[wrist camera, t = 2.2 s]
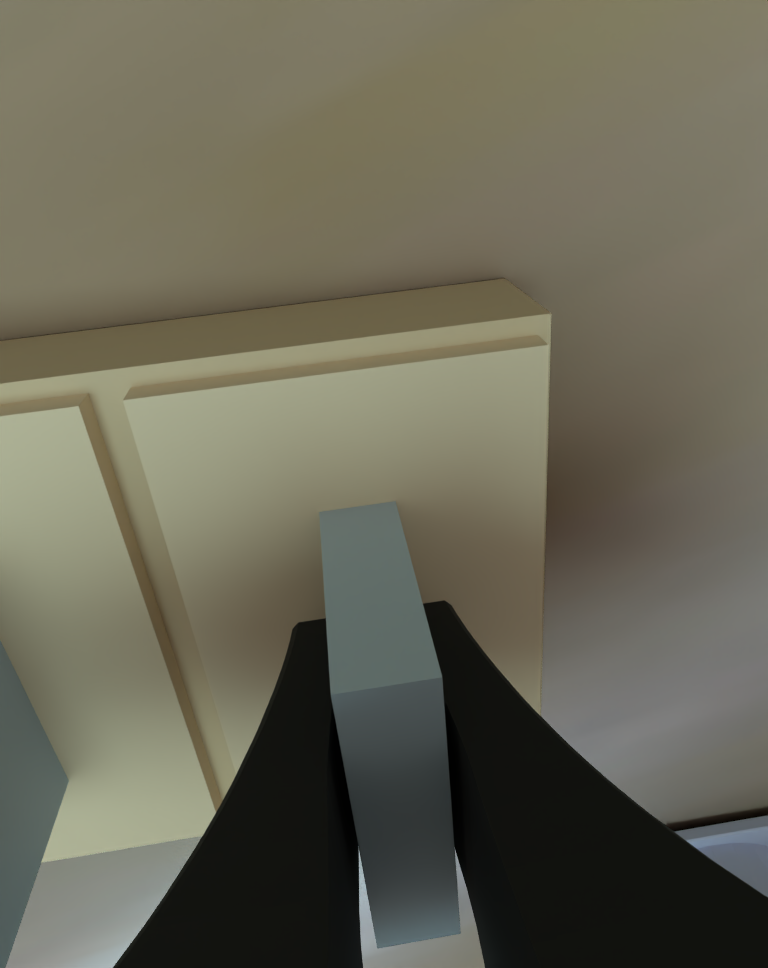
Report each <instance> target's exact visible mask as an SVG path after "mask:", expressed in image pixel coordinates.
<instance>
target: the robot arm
mask: <svg viewBox="0 0 768 968" xmlns="http://www.w3.org/2000/svg"><path fill="white" fill-rule="evenodd" d="M423 606H424V610H425V614H426V618H427V622H428V625H429V629H430V633H431V637H432V640H433V644H434V648H435V652H436V655H437V659H438V663H439V667H440V670H441V674H442V680H443V694H444V708H445V722H446V736H447V750H448V764H449V778H450V792H451V806H452V820H453V834H454V847H455V850H456V853H457V857H458V860H459V863H460V867H461V870H462V874H463V877H464V880H465V884H466V887H467V890H468V894H469V898H470V902H471V906H472V910H473V914H474V917H475V921H476V926H477V930H478V935H479V940H480V945H481V949H482V954H483V959H484V964H485V968H768V815H766V816H760V817H755V818H749V819H743V820H737V821H732V822H726V823H720V824H715V825H709V826H703V827H697V828H692V829H686V830H680V831H672V830H671V829H670V828H668V827H667V826H666V825H664V824H663V823H662V822H660V821H659V820H657V819H656V818H655V817H653V816H652V815H651V814H649V813H648V812H647V811H645V810H644V809H643V808H642V807H640V806H639V805H638V804H637V803H635V802H634V801H633V800H632V799H631V798H629V797H628V796H627V795H626V794H625V793H623V792H622V791H621V790H620V789H619V788H617V787H616V786H615V785H614V784H612V783H611V782H610V781H609V780H608V779H607V778H605V777H604V776H603V775H602V774H601V773H600V772H599V771H598V770H596V769H595V768H594V767H593V766H592V765H591V764H590V763H588V762H587V761H586V760H585V759H584V758H583V757H582V756H581V755H580V754H579V753H578V752H576V751H575V750H574V749H573V748H572V747H571V746H570V745H569V744H568V743H567V742H566V741H565V740H564V739H563V738H562V737H561V736H560V735H559V734H558V733H557V732H556V731H555V730H554V729H553V728H552V727H551V726H550V725H549V724H548V723H547V722H546V721H545V720H544V719H543V718H542V717H541V716H540V715H539V714H538V713H537V712H536V711H535V710H534V709H533V708H532V707H531V706H530V704H529V703H528V702H527V701H526V700H525V699H524V698H523V697H522V696H521V695H520V694H519V692H518V691H517V690H516V689H515V688H514V687H513V686H512V684H511V683H510V682H509V681H508V680H507V679H506V677H505V676H504V675H503V674H502V673H501V672H500V671H499V669H498V668H497V667H496V666H495V665H494V663H493V662H492V661H491V660H490V658H489V657H488V656H487V655H486V653H485V652H484V651H483V650H482V648H481V647H480V646H479V644H478V643H477V642H476V640H475V639H474V638H473V636H472V635H471V634H470V632H469V631H468V630H467V628H466V627H465V625H464V624H463V622H462V621H461V619H460V618H459V616H458V615H457V613H456V612H455V610H454V608H453V607H452V605H451V604H449V603H448V602H446V601H445V600H443V601H437V602H430V603H423ZM113 968H363V963H362V952H361V939H360V918H359V850H358V840H357V835H356V829H355V824H354V819H353V813H352V808H351V802H350V797H349V791H348V786H347V781H346V775H345V770H344V764H343V759H342V753H341V748H340V743H339V737H338V732H337V726H336V721H335V715H334V710H333V705H332V699H331V692H330V676H329V660H328V644H327V629H326V618H324V619H317V620H311V621H304V622H298V623H297V624H296V626H295V627H294V628H293V629H292V633H291V638H290V642H289V646H288V649H287V653H286V656H285V659H284V662H283V666H282V669H281V671H280V674H279V677H278V680H277V683H276V685H275V688H274V691H273V693H272V696H271V698H270V701H269V703H268V706H267V708H266V710H265V713H264V715H263V718H262V720H261V723H260V725H259V727H258V730H257V732H256V734H255V736H254V739H253V741H252V743H251V745H250V747H249V749H248V751H247V753H246V755H245V757H244V759H243V761H242V764H241V766H240V768H239V770H238V772H237V774H236V776H235V778H234V780H233V782H232V784H231V786H230V788H229V790H228V792H227V793H226V795H225V797H224V799H223V801H222V803H221V805H220V806H219V808H218V810H217V812H216V814H215V815H214V817H213V819H212V821H211V822H210V824H209V826H208V827H207V829H206V831H205V833H204V834H203V836H202V838H201V839H200V841H199V843H198V844H197V846H196V848H195V849H194V851H193V853H192V854H191V856H190V857H189V859H188V860H187V862H186V864H185V865H184V867H183V868H182V870H181V871H180V873H179V874H178V876H177V878H176V879H175V881H174V882H173V884H172V885H171V887H170V889H169V890H168V892H167V893H166V895H165V896H164V898H163V899H162V901H161V902H160V904H159V905H158V906H157V908H156V909H155V911H154V912H153V914H152V915H151V917H150V918H149V920H148V921H147V922H146V924H145V925H144V927H143V928H142V929H141V931H140V932H139V933H138V935H137V936H136V937H135V939H134V940H133V941H132V943H131V944H130V945H129V947H128V948H127V950H126V951H125V952H124V954H123V955H122V956H121V958H120V959H119V960H118V962H117V963H116V964H115V966H114V967H113Z"/></svg>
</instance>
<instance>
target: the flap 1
mask: <svg viewBox="0 0 768 968" xmlns="http://www.w3.org/2000/svg"><path fill="white" fill-rule="evenodd" d="M221 803H222V800H221V797H220V794H219V791H218V788H217V785H216V782H215V779H214V775H213V772H212V769H211V766H210V763H209V760H208V757H207V754H206V751H205V748H204V745H203V742H202V739H201V736H200V733H199V730H198V727H197V724H196V721H195V718H194V714H193V711H192V708H191V705H190V702H189V699H188V696H187V693H186V690H185V687H184V684H183V681H182V678H181V675H180V672H179V669H178V666H177V663H176V660H175V657H174V653H173V650H172V647H171V644H170V641H169V638H168V635H167V632H166V629H165V626H164V623H163V620H162V617H161V614H160V611H159V608H158V605H157V602H156V599H155V596H154V592H153V589H152V586H151V583H150V580H149V577H148V574H147V571H146V568H145V565H144V562H143V559H142V556H141V553H140V550H139V547H138V544H137V541H136V538H135V535H134V531H133V528H132V525H131V522H130V519H129V516H128V513H127V510H126V507H125V504H124V501H123V498H122V495H121V492H120V489H119V486H118V483H117V480H116V477H115V473H114V470H113V467H112V464H111V461H110V458H109V455H108V452H107V449H106V446H105V443H104V440H103V437H102V434H101V431H100V428H99V425H98V422H97V419H96V416H95V412H94V409H93V406H92V403H91V400H90V397H89V394H88V393H86V394H78V395H70V396H63V397H55V398H47V399H39V400H32V401H24V402H16V403H8V404H1V405H0V968H5V967H6V964H7V961H8V958H9V955H10V952H11V949H12V946H13V944H14V941H15V938H16V935H17V932H18V929H19V926H20V923H21V920H22V917H23V914H24V911H25V908H26V905H27V902H28V900H29V897H30V894H31V891H32V888H33V885H34V882H35V879H36V876H37V873H38V870H39V867H40V864H41V863H43V862H49V861H55V860H61V859H67V858H73V857H79V856H85V855H91V854H97V853H103V852H109V851H115V850H120V849H126V848H132V847H138V846H144V845H150V844H156V843H162V842H168V841H174V840H180V839H186V838H192V837H198V836H203V834H204V833H205V831H206V829H207V827H208V826H209V824H210V822H211V821H212V819H213V817H214V815H215V814H216V812H217V810H218V808H219V806H220V805H221Z"/></svg>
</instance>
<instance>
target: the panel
mask: <svg viewBox="0 0 768 968" xmlns="http://www.w3.org/2000/svg"><path fill="white" fill-rule="evenodd" d="M535 335H538V336H539V337H540V338H542V339H543V340H544V341H545V342H546V343H547V344H548V345H549V356H548V397H547V437H546V477H545V517H544V558H543V598H542V638H541V678H540V716H541V689H542V651H543V613H544V574H545V536H546V498H547V459H548V421H549V383H550V345H551V313H550V312H549V311H547V310H546V309H545V308H543V307H542V306H541V305H539V304H538V303H537V302H535V301H534V300H533V299H531V298H530V297H529V296H527V295H526V294H525V293H524V292H522V291H521V290H520V289H518V288H517V287H516V286H514V285H513V284H512V283H510V282H509V281H508V280H506V279H505V278H504V279H496V280H488V281H480V282H472V283H464V284H456V285H448V286H440V287H431V288H423V289H415V290H407V291H399V292H391V293H383V294H375V295H367V296H359V297H351V298H343V299H335V300H327V301H318V302H310V303H302V304H294V305H286V306H278V307H270V308H262V309H254V310H246V311H238V312H230V313H222V314H214V315H206V316H197V317H189V318H181V319H173V320H165V321H157V322H149V323H141V324H133V325H125V326H117V327H109V328H101V329H93V330H85V331H76V332H68V333H60V334H52V335H44V336H36V337H28V338H20V339H12V340H4V341H0V405H1V404H8V403H16V402H24V401H32V400H39V399H47V398H55V397H63V396H70V395H78V394H86V393H88V394H89V397H90V400H91V403H92V406H93V409H94V412H95V416H96V419H97V422H98V425H99V428H100V431H101V434H102V437H103V440H104V443H105V446H106V449H107V452H108V455H109V458H110V461H111V464H112V467H113V470H114V473H115V477H116V480H117V483H118V486H119V489H120V492H121V495H122V498H123V501H124V504H125V507H126V510H127V513H128V516H129V519H130V522H131V525H132V528H133V531H134V535H135V538H136V541H137V544H138V547H139V550H140V553H141V556H142V559H143V562H144V565H145V568H146V571H147V574H148V577H149V580H150V583H151V586H152V589H153V592H154V596H155V599H156V602H157V605H158V608H159V611H160V614H161V617H162V620H163V623H164V626H165V629H166V632H167V635H168V638H169V641H170V644H171V647H172V650H173V653H174V657H175V660H176V663H177V666H178V669H179V672H180V675H181V678H182V681H183V684H184V687H185V690H186V693H187V696H188V699H189V702H190V705H191V708H192V711H193V714H194V718H195V721H196V724H197V727H198V730H199V733H200V736H201V739H202V742H203V745H204V748H205V751H206V754H207V757H208V760H209V763H210V766H211V769H212V772H213V775H214V779H215V782H216V785H217V788H218V791H219V794H220V797H221V800H222V801H223V799H224V797H225V795H226V793H227V792H228V790H229V788H230V786H231V784H232V782H233V780H234V778H235V776H236V773H235V769H234V766H233V763H232V759H231V756H230V753H229V749H228V746H227V743H226V740H225V736H224V733H223V730H222V726H221V723H220V720H219V716H218V713H217V710H216V707H215V703H214V700H213V697H212V693H211V690H210V687H209V683H208V680H207V677H206V674H205V670H204V667H203V664H202V660H201V657H200V654H199V650H198V647H197V644H196V641H195V637H194V634H193V631H192V627H191V624H190V621H189V617H188V614H187V611H186V608H185V604H184V601H183V598H182V594H181V591H180V588H179V584H178V581H177V578H176V575H175V571H174V568H173V565H172V561H171V558H170V555H169V551H168V548H167V545H166V542H165V538H164V535H163V532H162V528H161V525H160V522H159V518H158V515H157V512H156V509H155V505H154V502H153V499H152V495H151V492H150V489H149V485H148V482H147V479H146V476H145V472H144V469H143V466H142V462H141V459H140V456H139V452H138V449H137V446H136V443H135V439H134V436H133V433H132V429H131V426H130V423H129V419H128V416H127V413H126V409H125V406H124V403H123V399H124V398H125V396H126V394H127V393H128V391H129V389H130V388H132V387H140V386H148V385H156V384H163V383H171V382H179V381H186V380H194V379H202V378H210V377H217V376H225V375H233V374H241V373H248V372H256V371H264V370H272V369H279V368H287V367H295V366H303V365H310V364H318V363H326V362H334V361H341V360H349V359H357V358H364V357H372V356H380V355H388V354H395V353H403V352H411V351H419V350H426V349H434V348H442V347H450V346H457V345H465V344H473V343H481V342H488V341H496V340H504V339H512V338H519V337H527V336H535Z"/></svg>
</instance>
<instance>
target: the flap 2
mask: <svg viewBox="0 0 768 968" xmlns="http://www.w3.org/2000/svg"><path fill="white" fill-rule="evenodd" d="M548 356H549V345H548V344H547V343H546V342H545V341H544V340H543V339H542V338H540V337H539V336H538V335H535V336H527V337H519V338H512V339H504V340H496V341H488V342H481V343H473V344H465V345H457V346H450V347H442V348H434V349H426V350H419V351H411V352H403V353H395V354H388V355H380V356H372V357H364V358H357V359H349V360H341V361H334V362H326V363H318V364H310V365H303V366H295V367H287V368H279V369H272V370H264V371H256V372H248V373H241V374H233V375H225V376H217V377H210V378H202V379H194V380H186V381H179V382H171V383H163V384H156V385H148V386H140V387H132V388H130V389H129V391H128V393H127V394H126V396H125V398H124V399H123V403H124V406H125V409H126V413H127V416H128V419H129V423H130V426H131V429H132V433H133V436H134V439H135V443H136V446H137V449H138V452H139V456H140V459H141V462H142V466H143V469H144V472H145V476H146V479H147V482H148V485H149V489H150V492H151V495H152V499H153V502H154V505H155V509H156V512H157V515H158V518H159V522H160V525H161V528H162V532H163V535H164V538H165V542H166V545H167V548H168V551H169V555H170V558H171V561H172V565H173V568H174V571H175V575H176V578H177V581H178V584H179V588H180V591H181V594H182V598H183V601H184V604H185V608H186V611H187V614H188V617H189V621H190V624H191V627H192V631H193V634H194V637H195V641H196V644H197V647H198V650H199V654H200V657H201V660H202V664H203V667H204V670H205V674H206V677H207V680H208V683H209V687H210V690H211V693H212V697H213V700H214V703H215V707H216V710H217V713H218V716H219V720H220V723H221V726H222V730H223V733H224V736H225V740H226V743H227V746H228V749H229V753H230V756H231V759H232V763H233V766H234V769H235V773H236V774H237V772H238V770H239V768H240V766H241V764H242V761H243V759H244V757H245V755H246V753H247V751H248V749H249V747H250V745H251V743H252V741H253V739H254V736H255V734H256V732H257V730H258V727H259V725H260V723H261V720H262V718H263V715H264V713H265V710H266V708H267V706H268V703H269V701H270V698H271V696H272V693H273V691H274V688H275V685H276V683H277V680H278V677H279V674H280V671H281V669H282V666H283V662H284V659H285V656H286V653H287V649H288V646H289V642H290V638H291V633H292V629H293V628H294V627H295V626H296V624H297V623H298V622H304V621H311V620H317V619H324V618H326V629H327V644H328V660H329V676H330V692H331V699H332V705H333V710H334V715H335V721H336V726H337V732H338V737H339V743H340V748H341V753H342V759H343V764H344V770H345V775H346V781H347V786H348V791H349V797H350V802H351V808H352V813H353V819H354V824H355V829H356V835H357V840H358V846H359V851H360V856H361V862H362V867H363V873H364V878H365V884H366V889H367V894H368V900H369V905H370V911H371V916H372V922H373V927H374V932H375V938H376V943H377V948H383V947H388V946H394V945H400V944H405V943H411V942H416V941H422V940H427V939H433V938H438V937H444V936H450V935H455V934H461V932H460V918H459V904H458V890H457V876H456V862H455V848H454V834H453V820H452V806H451V792H450V778H449V764H448V750H447V736H446V722H445V708H444V694H443V680H442V674H441V670H440V667H439V663H438V659H437V655H436V652H435V648H434V644H433V640H432V637H431V633H430V629H429V625H428V622H427V618H426V614H425V610H424V606H423V603H430V602H437V601H443V600H445V601H446V602H448V603H449V604H451V605H452V607H453V608H454V610H455V612H456V613H457V615H458V616H459V618H460V619H461V621H462V622H463V624H464V625H465V627H466V628H467V630H468V631H469V632H470V634H471V635H472V636H473V638H474V639H475V640H476V642H477V643H478V644H479V646H480V647H481V648H482V650H483V651H484V652H485V653H486V655H487V656H488V657H489V658H490V660H491V661H492V662H493V663H494V665H495V666H496V667H497V668H498V669H499V671H500V672H501V673H502V674H503V675H504V676H505V677H506V679H507V680H508V681H509V682H510V683H511V684H512V686H513V687H514V688H515V689H516V690H517V691H518V692H519V694H520V695H521V696H522V697H523V698H524V699H525V700H526V701H527V702H528V703H529V704H530V706H531V707H532V708H533V709H534V710H535V711H536V712H537V713H538V714H539V715H540V678H541V638H542V598H543V558H544V517H545V477H546V437H547V397H548Z"/></svg>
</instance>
